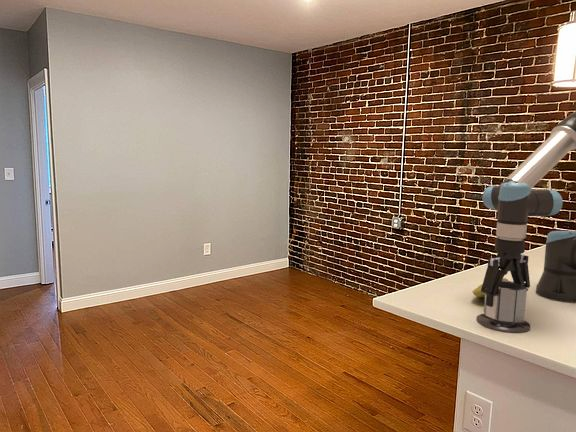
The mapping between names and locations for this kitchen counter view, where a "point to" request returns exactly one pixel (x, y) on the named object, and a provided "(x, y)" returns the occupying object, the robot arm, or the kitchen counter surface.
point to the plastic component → (478, 292)
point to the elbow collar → (510, 301)
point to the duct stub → (503, 324)
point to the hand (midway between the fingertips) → (503, 314)
